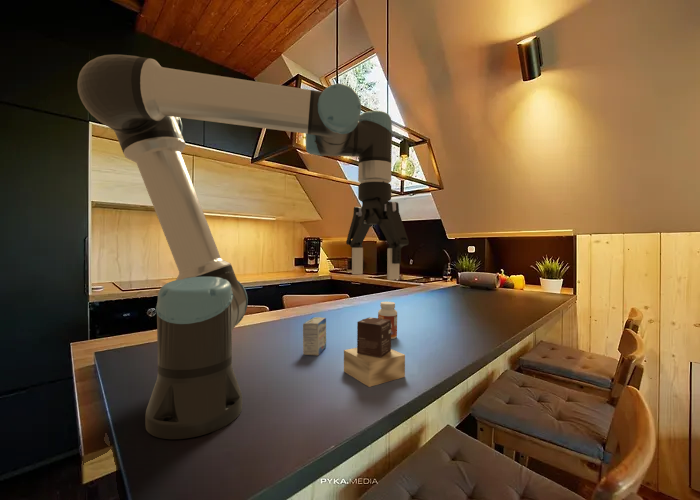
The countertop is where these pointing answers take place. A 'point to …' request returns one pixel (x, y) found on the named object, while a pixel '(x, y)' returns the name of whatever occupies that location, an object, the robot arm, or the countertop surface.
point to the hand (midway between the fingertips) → (373, 276)
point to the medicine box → (314, 336)
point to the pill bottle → (389, 316)
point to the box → (374, 337)
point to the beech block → (374, 367)
